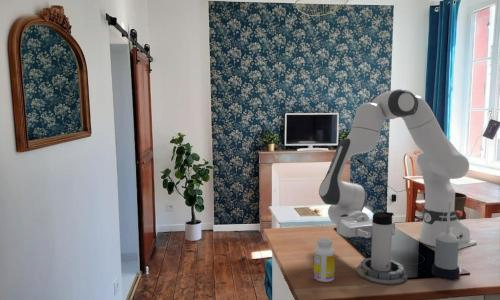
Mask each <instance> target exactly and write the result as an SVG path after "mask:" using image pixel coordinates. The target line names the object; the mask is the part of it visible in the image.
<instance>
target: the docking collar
mask: <svg viewBox="0 0 500 300" xmlns="http://www.w3.org/2000/svg"><path fill="white" fill-rule="evenodd" d="M359 263H360V264H358V265H357V266H356V274H357V275H358V276H359V277H360V278H361V279H364V280H365V281H368V282H369V283H374V284H376V285H377V284H379V285H385V286H393V285H394V286H395V285H400V284H404V283H405V282H407V280H408V273H407V271H406V270H405V268H404V265H402V263H399V262H398V261H395V260H393V259H391V271H390V272H379V271H376V270H372V269H371V257H368V258H367V257H366V258H364V259H362V260H361V261H360V262H359Z"/></svg>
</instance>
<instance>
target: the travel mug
mask: <svg viewBox="0 0 500 300" xmlns="http://www.w3.org/2000/svg"><path fill="white" fill-rule="evenodd" d="M394 215H395V214H394V212H391V211H390V212H389V211H388V212H387V211H379V212H374V213H373V215H372V219H373V221H372V235H371V254H370V258H371V269H372V270H376V271H379V272H390V271H391V260H392V245H393V244H392V243H393V240H392V239H393V237H392V236H393V235H392V221H393V217H394Z"/></svg>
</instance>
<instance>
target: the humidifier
mask: <svg viewBox="0 0 500 300" xmlns="http://www.w3.org/2000/svg"><path fill="white" fill-rule="evenodd" d="M443 213H444V207H443ZM450 213H451V202H450V201H449V205H448V213H447V228H446V230H445V232H442V233H440V234H438V235H437V237H436V243H435V248H434V249H435V251H434V262H433V263H432V266H431V274H432V275H433V277H436V278H438V279H442V280H445V279H446V280H445V281H456V280H455V279H457V280H459V279H460V278H461V276H462V275H461V273H460V268H459V266H458V264H459V263H458V260H459V249H458V246H459V243H458V239H457V237H456V236H455V235H454V234H452V233H451V232H450V230H449V229H450ZM443 216H444V214H443ZM442 218H443V217H442ZM442 221H443V219H442ZM442 231H443V225H442ZM458 278H459V279H458Z"/></svg>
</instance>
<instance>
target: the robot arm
mask: <svg viewBox="0 0 500 300" xmlns="http://www.w3.org/2000/svg"><path fill="white" fill-rule="evenodd" d="M398 118H401V119H402V120H403V121H404V123H405V126H406V128H407V130H408V132H409V134H410V137H412V140H413V141H414V144H415V145H416V146H417V147H418V148H419V149H420V150H421V151H420V152H419V154H418V155H417V159H416V163H417V165H418V167H419V169H420V172H421V175H422V179H423V185H424V207H423V209H422V216H423V218H422V219H423V220H422V224H421V230H420V233H419V237H418V240H419V241H420V243H422V244H424V245H427V246H431V247H435V243H436V237H437V235H438V234H440V233H442V232H445V230H446V228H447V213H448V205H449V201H450V202H451V213H450V229H449V230H450V232H451V233H452V234H454V235H455V236H456V237H457V239H458V243H459V246H458V250H461V249H464V248H467V247H470V246H474V245H477V241H476V240H475V239H473V238H471V233H470V229H469V227H468V226H467V225H465V224H464V223H463V222H462V221H461V220H460V221H459V220H458V218H457V215H458V216H461V217H462V216H463V213H464V212H463V213H462V212H461V211H455V210H454V206H455V192H456V191H455V189H454V187H453V185H452V182H451V181H450V180H452V179H453V180H457V179H461V178H463V177H465V176H466V175H467V173H468V172H469V170H470V163H469V160H468V158H467V157H466V156H465V155H463V154H462V153H461V152H459V150H458V149H457V148H456V147H455V146H454V144H453V143H452V142H451V141H450V140H449V138H448V137H447V136H446V134H445V133H444V131H443V130H442V129H443V128H441V126H440V123H439V122H438V120H437V118H436V116H435V114H434V112H433V111H432V108H431V107H430V105H429V104H428V103H427V101H426V100H425V99H424V98H423V97H422V96H420V95H414V93H413V92H412V91H410V90H409V89H408V90H407V89H404V88H399V89H393V90H392V89H391V90H388V91H385V92H383V93H379V94H377V95H375V96H374V97H372V98H371V100H370V101H369V102H363V103H361V104H360V105H359V106H358V108H357V111H356V112H355V115H354V118H353V121H352V124H351V128H350V131H349V134H348V135H347V137H345V138H344V139H342V140H341V141H340V142H339V144H338V145H337V148H336V150H335V153H334V155H333V157H332V160H331V163H330V165H329V167H328V170H327V172H326V175H325V177H324V179H323V180H322V182H321V184H320V186H319V189H318V195H319V198H320V199H321V200H322V202H323V203H324V204H325V205H329V207H328V210H327V215H328V218H329V220H330V221H331V223H333V224H334V225H336V234H338V235H340V236H342V237H345V238H356V237H362V238H365V239H370V238H371V239H372V221H373V218H370V217H369V215H368V214H367V213H366V212H363V210H364V208H365V206H366V203H367V192H366V190H365V188H364V186H362V185H361V184H358V183H354V182H349V181H345V180H341V177H342V175H343V172H344V169H345V167H346V164H347V162H348V160H349V159H350V158H351V157H353V156H356V155H362V154H366V153H369V152H371V151H372V150H374V149H375V148H376V147H377V146H378V143H379V141H380V135H381V131H382V125H383V123H384V121H385V120H395V119H398ZM443 207H444V213H443ZM443 214H444V216H443ZM442 217H443V218H442ZM442 219H443V221H442ZM442 225H443V231H442ZM395 235H396V222H394V221H393V220H392V236H395Z"/></svg>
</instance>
